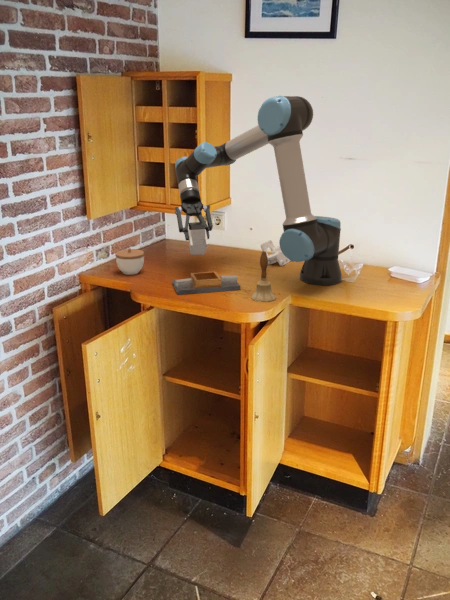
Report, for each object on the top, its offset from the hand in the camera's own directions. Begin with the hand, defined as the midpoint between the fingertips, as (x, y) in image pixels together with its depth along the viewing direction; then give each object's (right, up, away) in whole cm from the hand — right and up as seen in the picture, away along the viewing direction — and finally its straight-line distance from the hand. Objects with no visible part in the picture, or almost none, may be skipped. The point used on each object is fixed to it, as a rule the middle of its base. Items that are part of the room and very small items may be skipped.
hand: (199, 246), depth 203 cm
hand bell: (+22, -19, -16) cm, 33 cm away
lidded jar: (-27, -9, +11) cm, 30 cm away
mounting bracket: (+31, -4, +24) cm, 39 cm away
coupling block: (-1, -2, +5) cm, 5 cm away
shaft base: (+3, -15, -5) cm, 16 cm away
